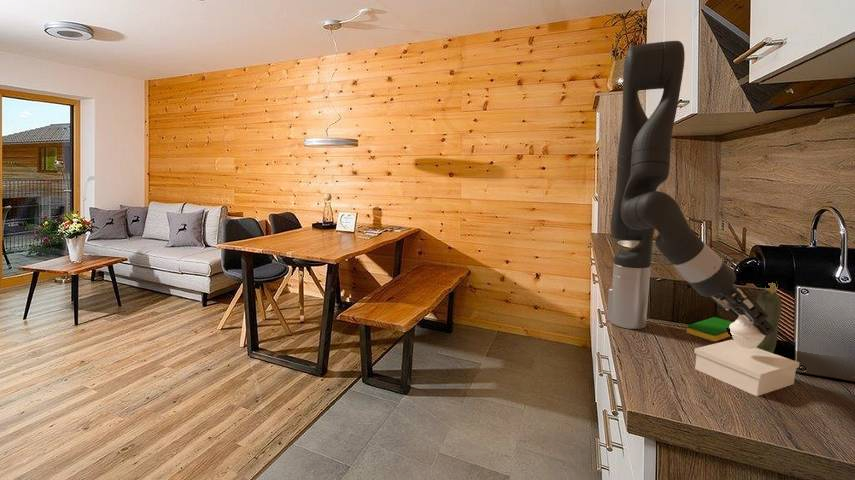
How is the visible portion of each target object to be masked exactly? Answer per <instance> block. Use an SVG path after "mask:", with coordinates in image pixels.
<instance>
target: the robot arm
mask: <svg viewBox="0 0 855 480" xmlns="http://www.w3.org/2000/svg"><path fill="white" fill-rule="evenodd" d="M685 54H686V53H685V46H684V44H683V43H682V42H681V41H680V40H667V41H659V42H650V43H642V44H641V43H640V44H635V45H632V46H630V47H629V48H628V49H627V51H626V54H625V57H624V62H623V63H624V64H623V75H622V76H623V77H622V109H621V110H622V112H621V114H622V115H621V123H620V124H621V125H620V134H619V141H618V150H617V159H616V160H617V161H616V183H615V193H614V199H613V206H612V212H611V217H610V234H611V236H612V238H613V239H615V240H620V241H633V242H634V241H635V242H638V244H637V245H635V246H634V247H632V248H629V249H625V250H623V251H618V252H616V253H615V254H614V257H613V268H612V269H613V272H612V284H611V285H612V287H610V288H609V289H608V297H607V298H608V299H607V312H606V315H607V316H606V321H607V322H610V323H611V324H612V325H614V326H617V327H620V328H622V329H623V328H624V329H628V330H629V329H631V330H641V329H644V328H646V326H647V316H648V304H649V303H648V302H649V290H650V282H651V281H650V280H651V279H650V278H651V266H652V254H653V243H654V242H655V243H654V244H655V246H656V248H657V250H658V251H659V252H660V253H661V254H662V255H663V256H664V257H665V258H666V259H667V260H668V261H669V262H670V263H671V264H672V266H673V267H674V269H675V270H676V271H677V272H678V273H679V275H680V276H681V277H682V278H683V279H684V280H685V281H686V282H687V283H688V284H689V285H690V286H691V287H692V289H694V290H695V291H696V292H697V294H699V295H700V296H702V297H708V298H711V299H712V300H713V301H715V302H716V304H718V305H717V306H719V307H721V308H724V309H725V310H726V311H727V312H730V314H732V316H734V318H735V320H737V319H738V317H739V315H743V316H744V317H745V318H746V319H747V320H748V321H749V322H750V323H752V324H753V325H754V326H755V327H756V328H757V329H758V330H759V332H760V333H761V334H763V335H765V336H767V335H768V334H770V333H771V332H772V331H773V330H774V328H773V327H772V326H771V325H770V324H769V322H768V321H767V320H766V318H767V317H768V315H767V314H766V313H765V312H764V310H763V309H762V308H761V307H760V306H759V305H758V303H757V302H756V301H757V300H756V299H754V297H753V296H751V295H747V296H746V295H745V294H744V292H743V291H742V290H741V289H740V288H739V287H737V286H734V284H735V282H736V278H737V276H736V273H735V271H734V270H732V268H731V267H730V266H729V265H728V264H727V263H726V262H725V261H724V260H723V259H722V258H721V257H720V256H719V255H718V254H717V252H715V251H714V250H713V249H712V248H711V247H710V246H709V245H707V244H706V243H705V242H704V241H703V240H702V239H701V238H700V237H699V236H698V235H697V234H696V233H695V232H694V231H693V230H692V229H691V227H690V226H689V223H688V221H687V219H686V217H685V215H684V214H683V212H682V210H681V208H680V206H679V203H678V202H677V201H676V200H675V198H673V197H672V196H671V195H669V194H667V193H666V192H663V191H661V190H659V191H658V190H657V189H658V187H659V186H660V185H661V184H663V183H664V182H666V181H667V180H668V178H669V175H670V165H671V162H670V161H671V149H672V148H671V147H672V134H673V131H674V130H673V129H674V126H675V125H674V124H675V120H676V115H677V110H678V104H679V99H680V92H681V87H682V82H683V76H684V69H685V58H686V57H685ZM661 89H663V91H662V95H661V98H660V101H659V103H658V105H657V106H656V108H655V109H654V111H653V112H652V113H651V115H650V116H649V117H648V116H647V115H646V112H645V110H644V108H643V107H642V104H641V102H640V96H639V92H640V91H649V90H650V91H651V90H661ZM655 230H656V231H657V232H658V234H657V236H656V237H655V240H654V235H655ZM653 241H654V242H653Z"/></svg>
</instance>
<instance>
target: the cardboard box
mask: <svg viewBox="0 0 855 480" xmlns="http://www.w3.org/2000/svg"><path fill="white" fill-rule="evenodd" d="M694 354H696V356H695V365H694V366H695V367H694V370H696V371H698V372H702V373H703V374H706V375H708V376H710V377H712V378H714V379H716V380H718V381H721V382H724V383H726V384H728V385H730V386H733V387H734V388H737V389H740V390H741V391H744V392H746V393H748V394H750V395H752V396H755V397H759V396H761V395H765V394H769V393H770V392H773V391H774V392H775V391H777V390H780V389H783V388H786V387H788V386H789V387H790V386H791V385H792V386H793V385H795V378H796V372H797V369H798V368H799V367H800V362H799V361H796V360H793V359H790V358H788V357H784V356H782V355H779V354H777V353H774V352H773V353H770V352H767V351H764V350H761V349H759V348H754V349H748V348H743V347H740V346H738V345H736V343H735V341H734V339H729V340H724V341H721V342H715V343H712V344H708V345H704V346H700V347H695V348H694Z"/></svg>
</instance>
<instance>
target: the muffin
mask: <svg viewBox="0 0 855 480" xmlns="http://www.w3.org/2000/svg"><path fill="white" fill-rule="evenodd" d="M732 322H733V323H731V324H730V325H729V328H730V333H731V335H732V336H731V337H732V340H734V341H735V343H736V345H738V346H740V347H743V348H748V349H754V348H756V347H757V346H758V345H759V344H760V343H761V342H762V341H763V340H764V337H765V335H763V334H761V333H760V332H759V330H758V329H757V328H756V327H755V326H754V325H753V324H752V323H750V322H749V321H748V320H747V319H746V318H745V317H744V316H743V315H739V317H738V319H735V321H732Z"/></svg>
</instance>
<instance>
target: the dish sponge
mask: <svg viewBox="0 0 855 480" xmlns="http://www.w3.org/2000/svg"><path fill="white" fill-rule="evenodd" d="M733 322H734V321H731V320H727V319H723V318H720V317H717V316H715V317H714V316H713V317H710V318H707V319H703V320H700V321H697V322H694V323H691V324H689V325H687V326H686V334H690V335H693V336H695V337H699V338H702V339H705V340H708V341H711V342H718V341H720V340H723V339H726V338H729V337H731V336H730V335H729V334H728V332H727V329H726V327H727V328H729V325H730V324H731V323H733Z"/></svg>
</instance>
